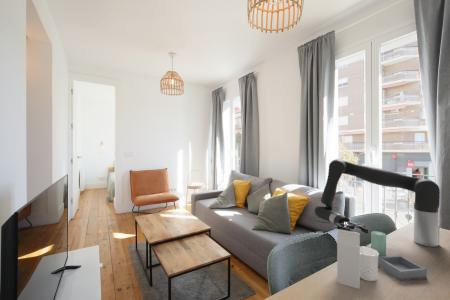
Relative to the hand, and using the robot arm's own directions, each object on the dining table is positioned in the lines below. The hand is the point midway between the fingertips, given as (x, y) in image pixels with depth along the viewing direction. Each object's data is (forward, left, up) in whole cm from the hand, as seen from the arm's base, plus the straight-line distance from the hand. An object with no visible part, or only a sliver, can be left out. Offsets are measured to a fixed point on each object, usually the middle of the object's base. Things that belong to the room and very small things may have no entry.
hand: (359, 232), depth 110 cm
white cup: (+16, +23, -8) cm, 29 cm away
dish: (0, +22, -7) cm, 23 cm away
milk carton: (+25, +25, -8) cm, 36 cm away
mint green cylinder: (0, +11, -7) cm, 13 cm away
